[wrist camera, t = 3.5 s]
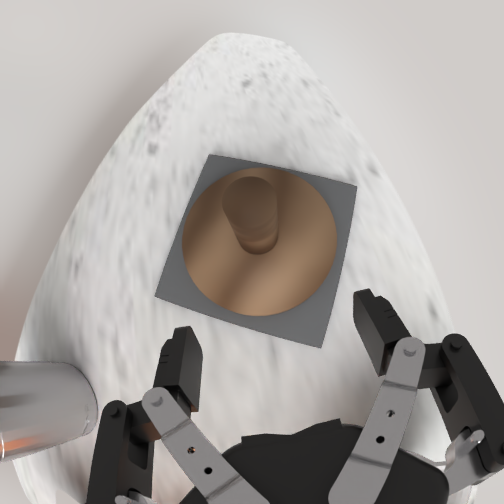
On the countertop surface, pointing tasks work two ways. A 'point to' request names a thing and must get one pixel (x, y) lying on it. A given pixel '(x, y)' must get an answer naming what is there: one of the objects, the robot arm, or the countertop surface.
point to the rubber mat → (280, 325)
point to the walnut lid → (259, 241)
